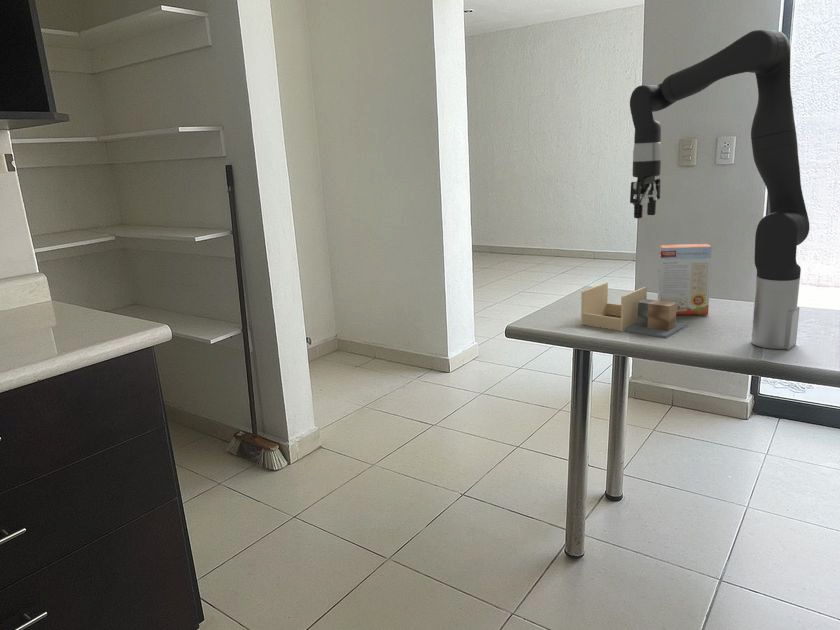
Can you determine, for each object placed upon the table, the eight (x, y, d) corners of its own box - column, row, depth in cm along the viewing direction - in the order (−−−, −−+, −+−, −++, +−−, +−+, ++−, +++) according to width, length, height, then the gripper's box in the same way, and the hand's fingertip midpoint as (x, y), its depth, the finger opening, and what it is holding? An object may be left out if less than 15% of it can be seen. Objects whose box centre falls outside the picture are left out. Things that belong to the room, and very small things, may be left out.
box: (675, 327, 169) (676, 302, 168) (668, 331, 166) (669, 306, 165) (644, 322, 176) (645, 299, 174) (637, 326, 173) (638, 302, 171)
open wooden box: (645, 319, 181) (646, 286, 178) (622, 331, 171) (623, 296, 168) (605, 313, 190) (606, 282, 187) (581, 324, 180) (581, 291, 177)
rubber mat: (687, 325, 172) (687, 323, 172) (666, 338, 162) (666, 335, 162) (646, 319, 180) (646, 318, 180) (624, 331, 171) (624, 329, 171)
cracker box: (705, 310, 186) (709, 243, 181) (708, 315, 181) (712, 246, 175) (656, 310, 190) (659, 244, 185) (658, 315, 185) (661, 247, 179)
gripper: (648, 160, 165) (646, 219, 169) (670, 157, 175) (667, 214, 179) (622, 161, 170) (621, 219, 174) (645, 158, 180) (643, 213, 184)
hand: (644, 216), depth 177 cm, fingers open, 8 cm apart
